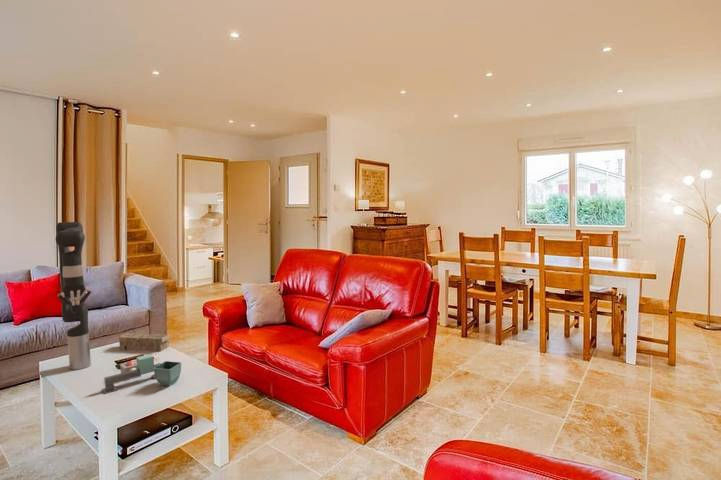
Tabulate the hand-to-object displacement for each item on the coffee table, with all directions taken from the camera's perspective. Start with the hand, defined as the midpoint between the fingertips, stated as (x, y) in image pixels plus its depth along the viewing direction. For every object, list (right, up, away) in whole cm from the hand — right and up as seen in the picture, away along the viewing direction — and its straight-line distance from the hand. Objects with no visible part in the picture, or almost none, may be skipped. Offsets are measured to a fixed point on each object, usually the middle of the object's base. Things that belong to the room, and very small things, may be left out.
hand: (75, 312), depth 187 cm
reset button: (+17, -31, +15) cm, 38 cm away
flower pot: (+39, -34, +6) cm, 53 cm away
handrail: (+23, -34, +7) cm, 42 cm away
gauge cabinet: (+17, -34, +15) cm, 40 cm away
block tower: (+2, -31, +55) cm, 63 cm away
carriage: (+27, -30, +10) cm, 41 cm away
